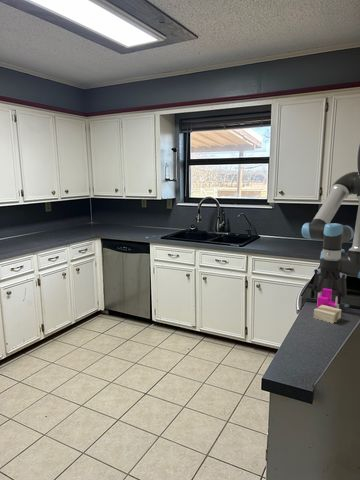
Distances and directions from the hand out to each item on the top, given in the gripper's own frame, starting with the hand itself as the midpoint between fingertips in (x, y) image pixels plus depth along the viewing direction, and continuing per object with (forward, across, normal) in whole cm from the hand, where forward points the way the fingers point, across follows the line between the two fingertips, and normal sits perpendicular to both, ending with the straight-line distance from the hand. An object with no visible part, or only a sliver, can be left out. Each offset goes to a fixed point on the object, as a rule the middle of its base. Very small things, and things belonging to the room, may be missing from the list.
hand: (327, 307), depth 158 cm
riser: (0, +6, -14) cm, 15 cm away
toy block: (+1, 0, -2) cm, 2 cm away
